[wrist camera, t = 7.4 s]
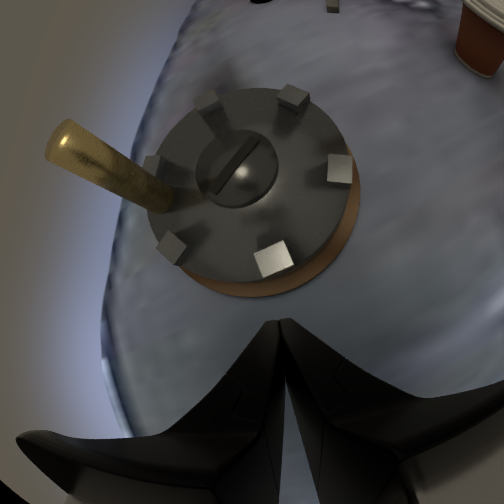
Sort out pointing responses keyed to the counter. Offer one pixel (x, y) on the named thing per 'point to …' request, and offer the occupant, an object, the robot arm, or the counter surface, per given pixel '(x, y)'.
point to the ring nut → (230, 182)
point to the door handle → (331, 5)
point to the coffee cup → (481, 36)
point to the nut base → (305, 272)
